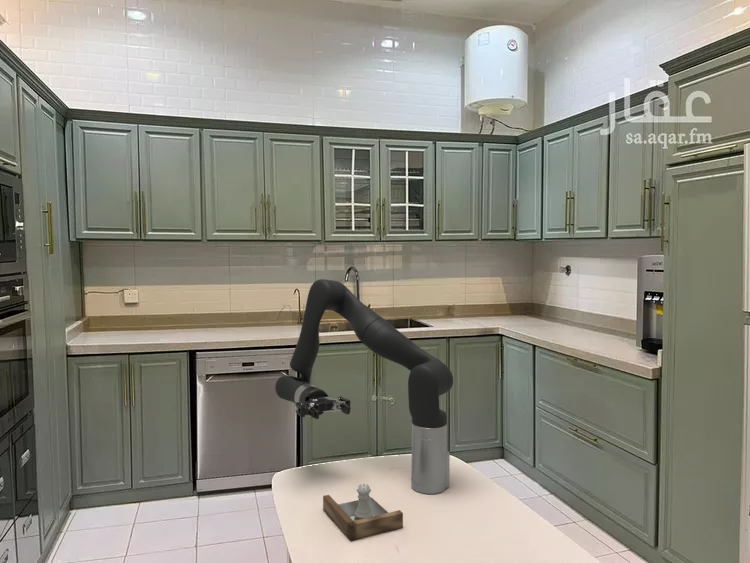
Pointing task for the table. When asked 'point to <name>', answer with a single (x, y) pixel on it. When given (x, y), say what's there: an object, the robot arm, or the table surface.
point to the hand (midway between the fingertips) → (333, 412)
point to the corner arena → (362, 527)
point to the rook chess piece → (363, 503)
